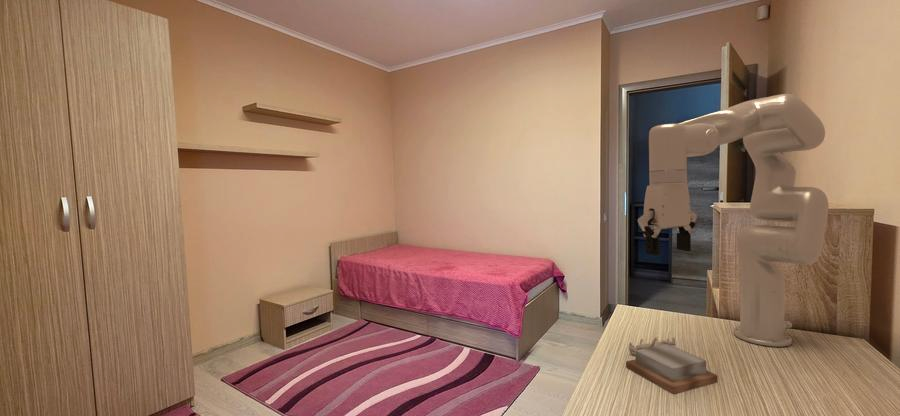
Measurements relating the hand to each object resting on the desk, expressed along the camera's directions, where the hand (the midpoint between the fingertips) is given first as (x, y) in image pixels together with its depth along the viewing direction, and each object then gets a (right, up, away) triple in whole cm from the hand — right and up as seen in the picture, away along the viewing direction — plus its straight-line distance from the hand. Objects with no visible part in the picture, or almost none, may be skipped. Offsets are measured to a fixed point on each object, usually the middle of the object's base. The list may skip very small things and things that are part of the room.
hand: (668, 252), depth 88 cm
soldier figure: (+8, -26, +11) cm, 30 cm away
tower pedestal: (0, -28, 0) cm, 28 cm away
